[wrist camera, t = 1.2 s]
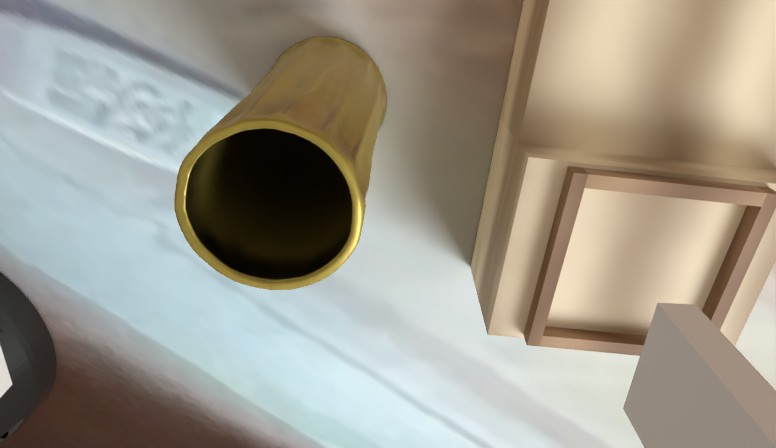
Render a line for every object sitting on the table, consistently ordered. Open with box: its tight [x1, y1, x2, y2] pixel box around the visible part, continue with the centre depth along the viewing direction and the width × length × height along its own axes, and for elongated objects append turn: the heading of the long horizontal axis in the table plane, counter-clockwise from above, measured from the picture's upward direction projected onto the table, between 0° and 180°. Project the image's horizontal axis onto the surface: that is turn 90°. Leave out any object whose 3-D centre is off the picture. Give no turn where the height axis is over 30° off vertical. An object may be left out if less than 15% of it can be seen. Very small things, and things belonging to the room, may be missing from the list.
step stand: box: [470, 0, 776, 356], centre depth 24 cm, size 12×21×7 cm, turn 174°
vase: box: [175, 37, 387, 290], centre depth 21 cm, size 6×6×14 cm
